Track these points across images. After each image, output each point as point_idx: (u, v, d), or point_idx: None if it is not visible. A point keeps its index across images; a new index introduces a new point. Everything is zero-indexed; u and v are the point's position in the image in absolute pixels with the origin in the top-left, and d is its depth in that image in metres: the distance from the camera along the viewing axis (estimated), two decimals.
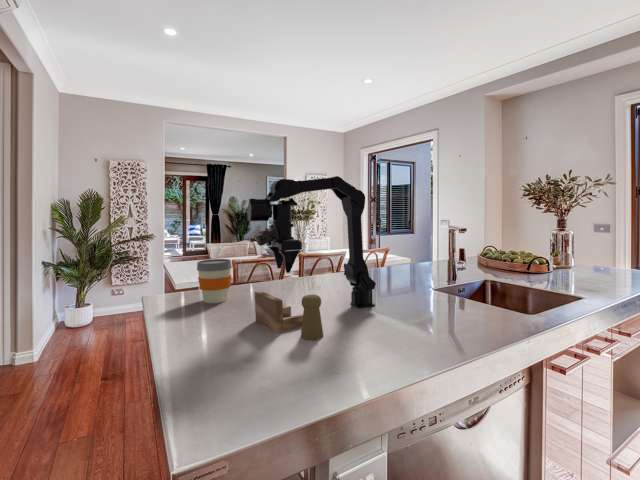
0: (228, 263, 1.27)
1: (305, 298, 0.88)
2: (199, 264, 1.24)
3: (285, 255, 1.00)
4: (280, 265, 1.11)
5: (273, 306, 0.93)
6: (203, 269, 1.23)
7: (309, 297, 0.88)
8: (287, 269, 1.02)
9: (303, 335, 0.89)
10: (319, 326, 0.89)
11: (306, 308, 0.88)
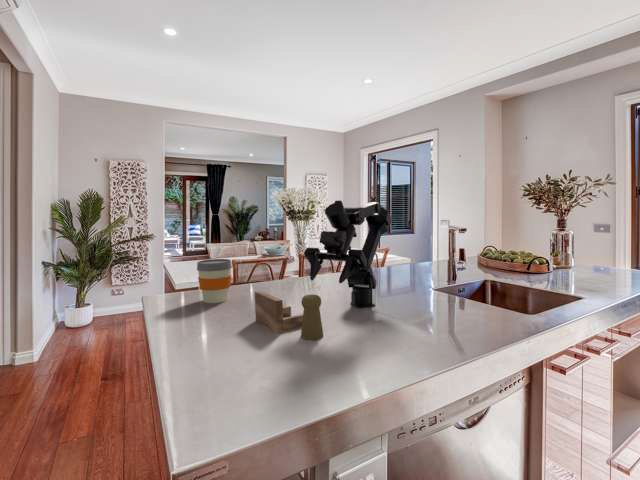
0: (228, 263, 1.27)
1: (305, 298, 0.88)
2: (199, 264, 1.24)
3: None
4: (313, 278, 0.99)
5: (273, 306, 0.93)
6: (203, 269, 1.23)
7: (309, 297, 0.88)
8: (342, 279, 0.94)
9: (303, 335, 0.89)
10: (319, 326, 0.89)
11: (306, 308, 0.88)
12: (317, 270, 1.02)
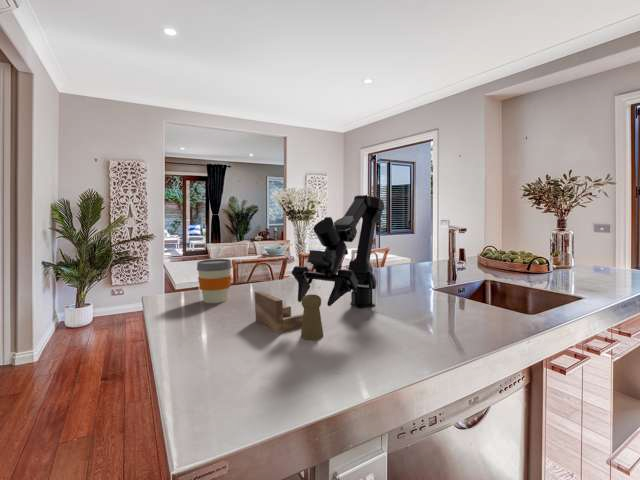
0: (228, 263, 1.27)
1: (305, 298, 0.88)
2: (199, 264, 1.24)
3: (339, 285, 0.90)
4: (301, 299, 0.94)
5: (273, 306, 0.93)
6: (203, 269, 1.23)
7: (309, 297, 0.88)
8: (330, 302, 0.89)
9: (303, 335, 0.89)
10: (319, 326, 0.89)
11: (306, 308, 0.88)
12: (305, 290, 0.96)
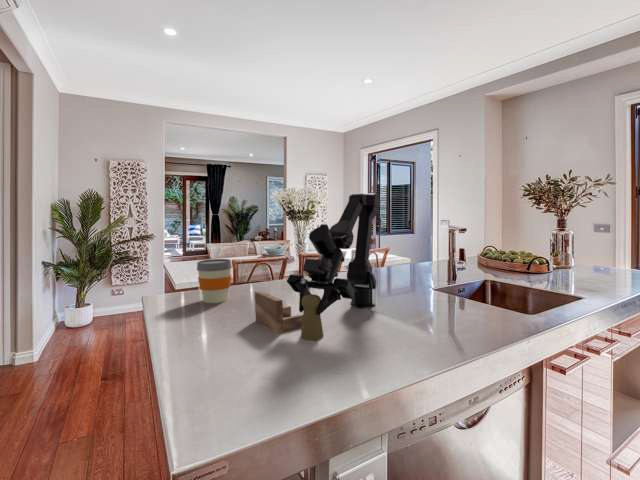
0: (228, 263, 1.27)
1: (305, 298, 0.88)
2: (199, 264, 1.24)
3: (329, 294, 0.89)
4: (302, 309, 0.91)
5: (273, 306, 0.93)
6: (203, 269, 1.23)
7: (309, 297, 0.88)
8: (320, 311, 0.88)
9: (303, 335, 0.89)
10: (319, 326, 0.89)
11: (306, 308, 0.88)
12: None
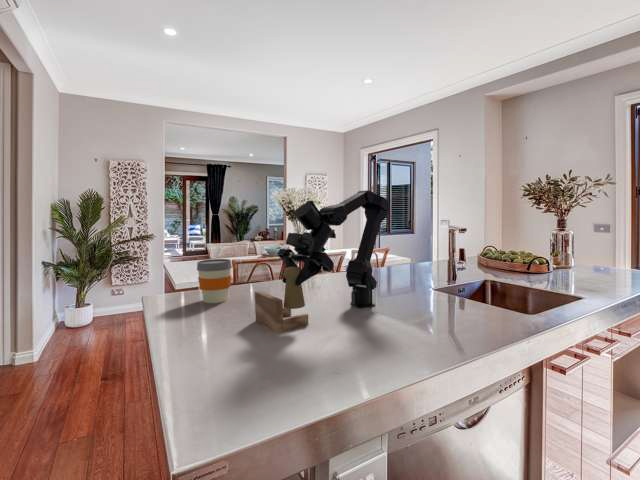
0: (228, 263, 1.27)
1: (286, 269, 0.94)
2: (199, 264, 1.24)
3: (308, 266, 0.93)
4: None
5: (273, 306, 0.93)
6: (203, 269, 1.23)
7: (289, 269, 0.94)
8: (298, 281, 0.93)
9: (284, 304, 0.95)
10: (299, 296, 0.94)
11: (286, 278, 0.94)
12: None
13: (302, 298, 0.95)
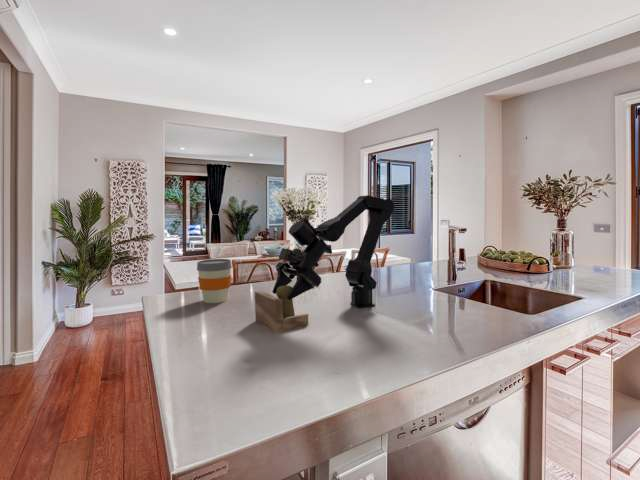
0: (228, 263, 1.27)
1: (278, 288, 1.01)
2: (199, 264, 1.24)
3: (300, 282, 0.97)
4: None
5: (273, 306, 0.93)
6: (203, 269, 1.23)
7: (280, 288, 1.00)
8: (290, 296, 0.97)
9: None
10: (288, 314, 1.00)
11: (278, 297, 1.01)
12: (284, 284, 1.07)
13: None
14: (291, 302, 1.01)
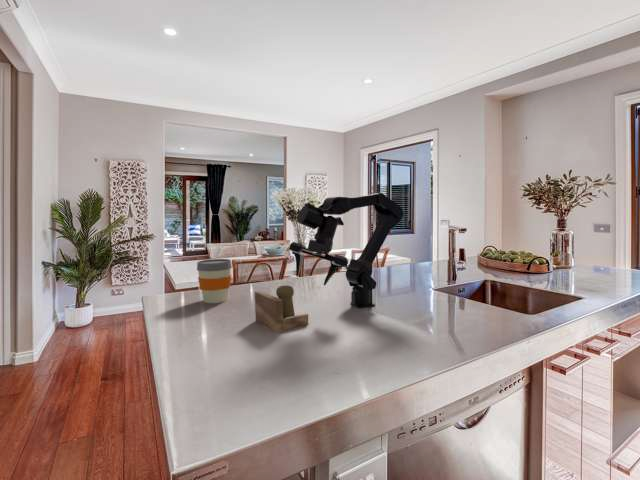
0: (228, 263, 1.27)
1: (278, 288, 1.01)
2: (199, 264, 1.24)
3: None
4: (298, 274, 1.09)
5: (273, 306, 0.93)
6: (203, 269, 1.23)
7: (280, 288, 1.00)
8: (326, 282, 1.06)
9: None
10: (288, 314, 1.00)
11: (278, 297, 1.00)
12: (301, 264, 1.10)
13: None
14: (291, 302, 1.01)
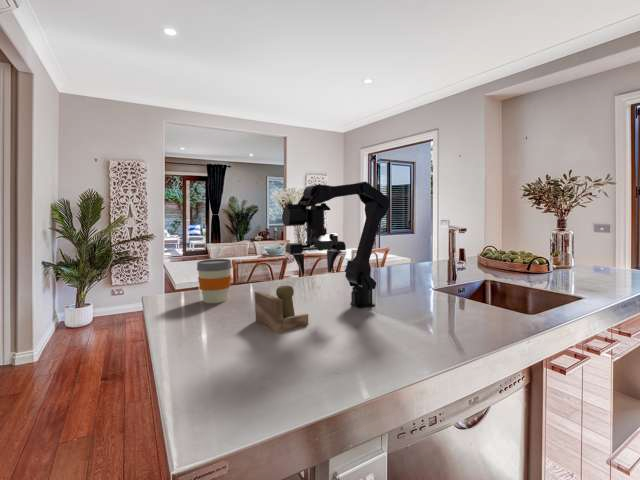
0: (228, 263, 1.27)
1: (278, 288, 1.01)
2: (199, 264, 1.24)
3: None
4: None
5: (273, 306, 0.93)
6: (203, 269, 1.23)
7: (280, 288, 1.00)
8: None
9: None
10: (288, 314, 1.00)
11: (278, 297, 1.01)
12: None
13: None
14: (291, 302, 1.01)
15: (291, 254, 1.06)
